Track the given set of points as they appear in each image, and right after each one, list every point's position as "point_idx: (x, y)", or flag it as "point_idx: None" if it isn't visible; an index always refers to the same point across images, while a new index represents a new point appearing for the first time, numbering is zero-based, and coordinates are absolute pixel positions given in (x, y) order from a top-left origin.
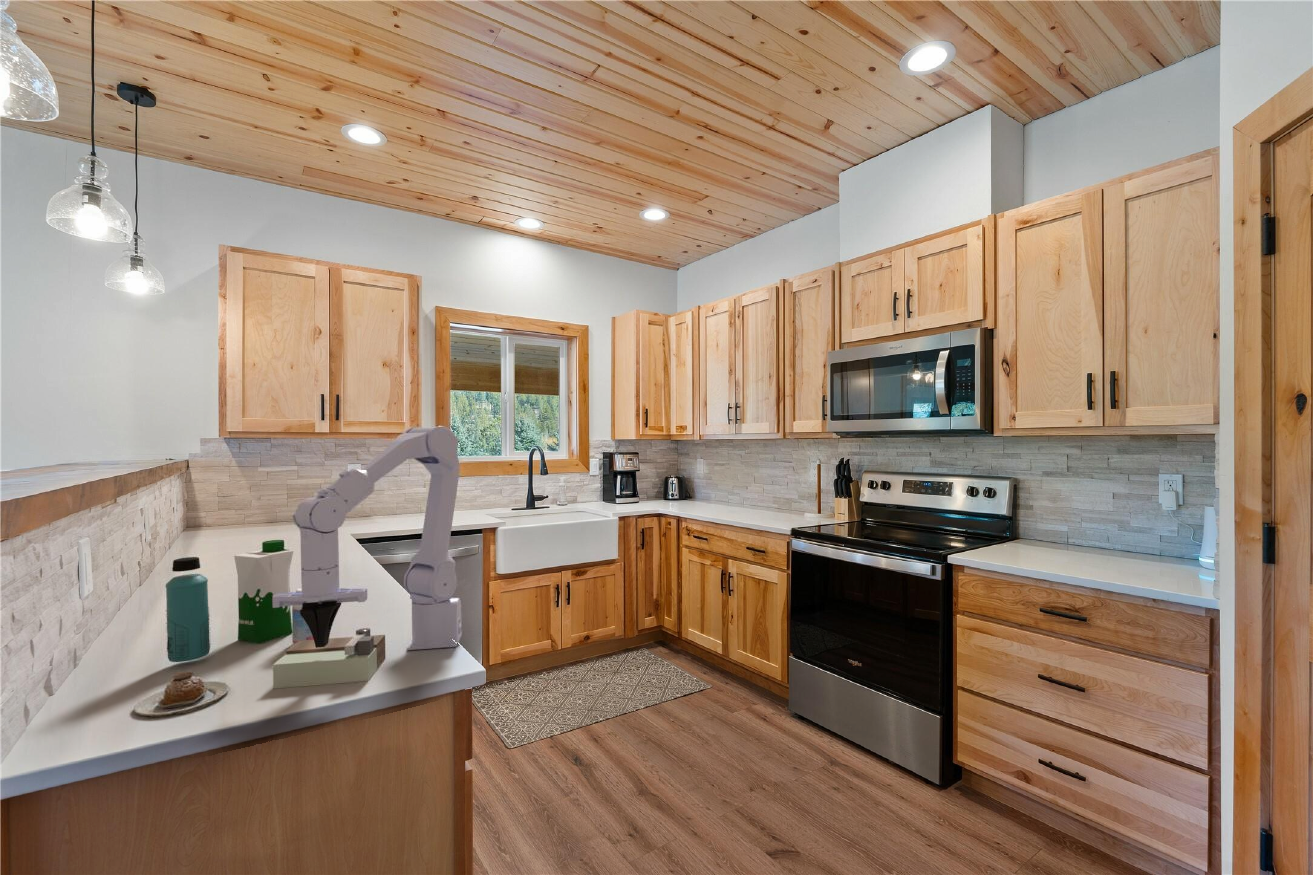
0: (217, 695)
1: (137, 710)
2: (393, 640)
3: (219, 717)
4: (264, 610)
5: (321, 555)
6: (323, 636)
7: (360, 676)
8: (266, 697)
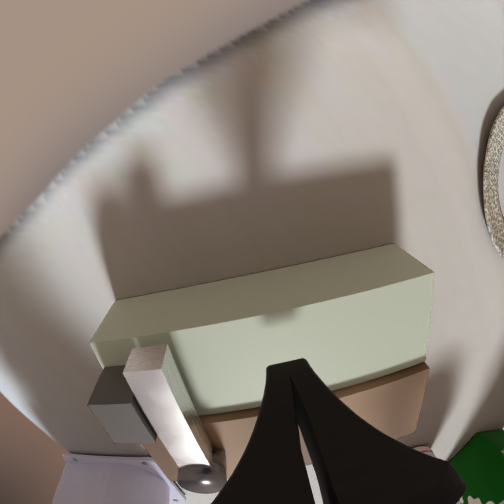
0: (493, 190)
1: None
2: None
3: (422, 57)
4: (496, 477)
5: None
6: (267, 396)
7: (133, 304)
8: (380, 178)
